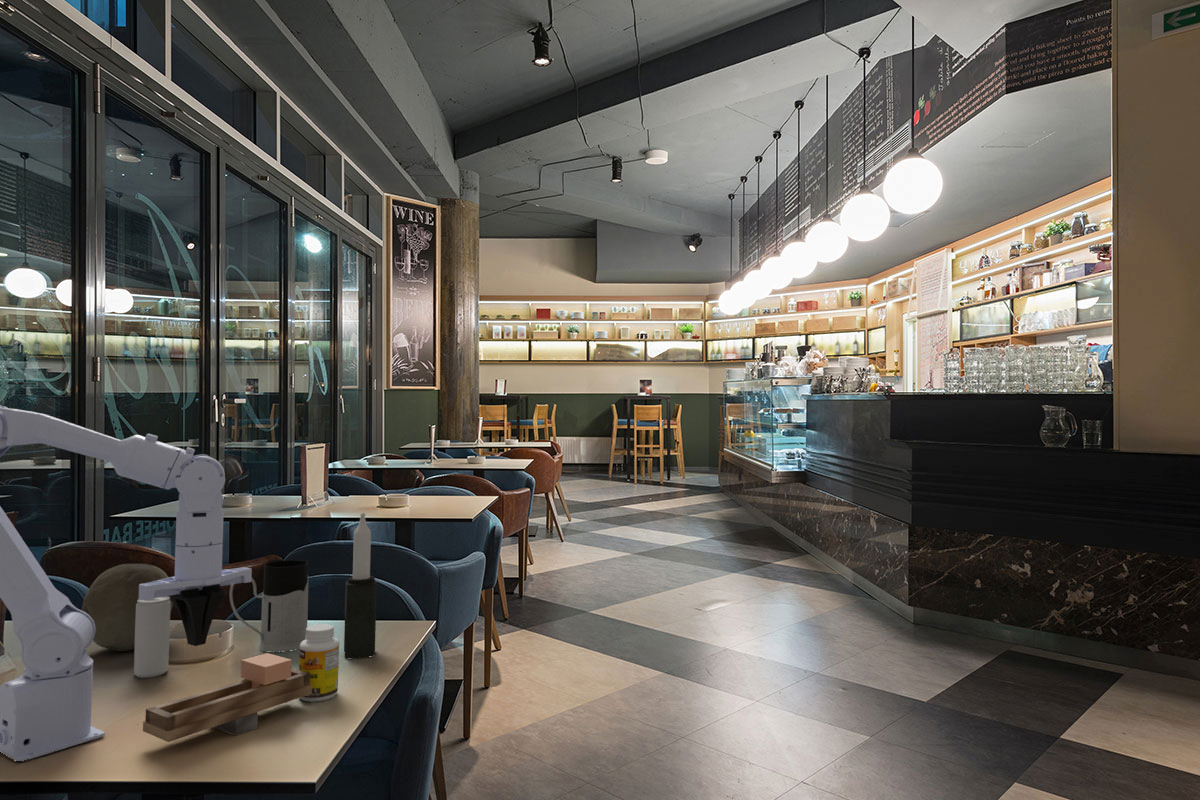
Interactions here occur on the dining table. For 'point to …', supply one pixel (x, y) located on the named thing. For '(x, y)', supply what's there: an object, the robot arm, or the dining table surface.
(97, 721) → the dining table surface
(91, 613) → the cantaloupe
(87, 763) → the dining table surface
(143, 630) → the beverage can
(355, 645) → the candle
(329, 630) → the supplement bottle
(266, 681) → the rider
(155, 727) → the beam
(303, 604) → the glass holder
